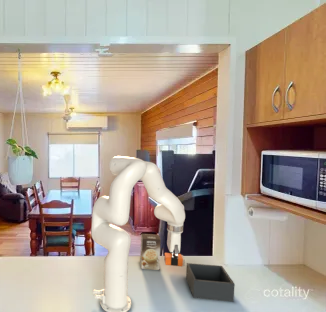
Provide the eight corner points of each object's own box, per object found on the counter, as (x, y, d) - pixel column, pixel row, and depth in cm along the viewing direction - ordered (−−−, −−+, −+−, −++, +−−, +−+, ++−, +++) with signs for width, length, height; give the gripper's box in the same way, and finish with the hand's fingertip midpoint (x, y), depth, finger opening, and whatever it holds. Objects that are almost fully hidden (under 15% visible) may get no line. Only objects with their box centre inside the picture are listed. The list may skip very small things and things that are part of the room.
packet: (165, 265, 122) (166, 257, 121) (164, 259, 127) (164, 252, 126) (184, 266, 120) (185, 259, 120) (182, 261, 125) (182, 254, 125)
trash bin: (193, 297, 102) (194, 280, 101) (186, 278, 116) (186, 263, 115) (233, 301, 100) (234, 284, 99) (221, 281, 113) (222, 265, 112)
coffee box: (141, 269, 123) (141, 238, 122) (139, 262, 130) (140, 233, 128) (159, 270, 123) (160, 239, 121) (157, 263, 129) (158, 234, 127)
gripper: (164, 221, 131) (163, 253, 133) (170, 233, 114) (168, 270, 116) (179, 222, 130) (177, 254, 131) (186, 235, 113) (184, 272, 115)
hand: (173, 261), depth 124 cm, fingers closed on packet, 5 cm apart
